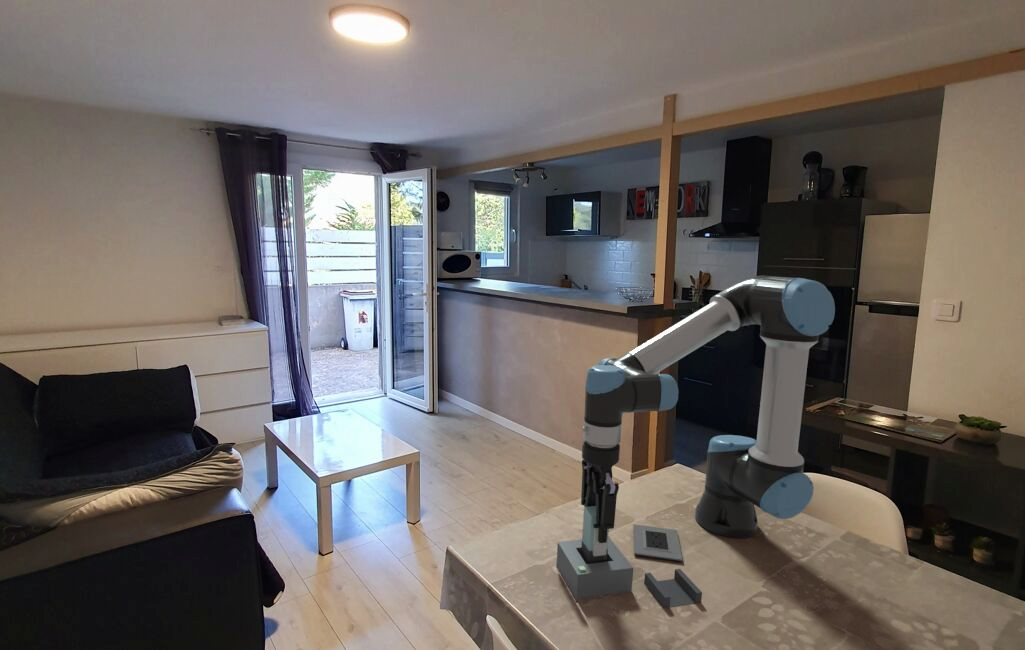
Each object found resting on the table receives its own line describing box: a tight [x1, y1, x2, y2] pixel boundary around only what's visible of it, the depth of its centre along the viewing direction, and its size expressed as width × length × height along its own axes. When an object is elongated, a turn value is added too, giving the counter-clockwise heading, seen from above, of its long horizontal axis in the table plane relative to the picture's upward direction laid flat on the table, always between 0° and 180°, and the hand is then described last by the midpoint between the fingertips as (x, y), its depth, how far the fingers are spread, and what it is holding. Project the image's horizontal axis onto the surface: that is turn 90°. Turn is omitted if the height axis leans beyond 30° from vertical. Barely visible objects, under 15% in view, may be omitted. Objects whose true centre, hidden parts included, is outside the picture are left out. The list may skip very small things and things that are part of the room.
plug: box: [581, 506, 610, 562], centre depth 112 cm, size 4×4×10 cm
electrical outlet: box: [632, 523, 684, 563], centre depth 127 cm, size 13×10×2 cm
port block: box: [556, 535, 634, 603], centre depth 113 cm, size 12×12×6 cm
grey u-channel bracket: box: [643, 568, 703, 609], centre depth 109 cm, size 8×8×3 cm
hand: (594, 548), depth 112 cm, fingers closed on plug, 4 cm apart
